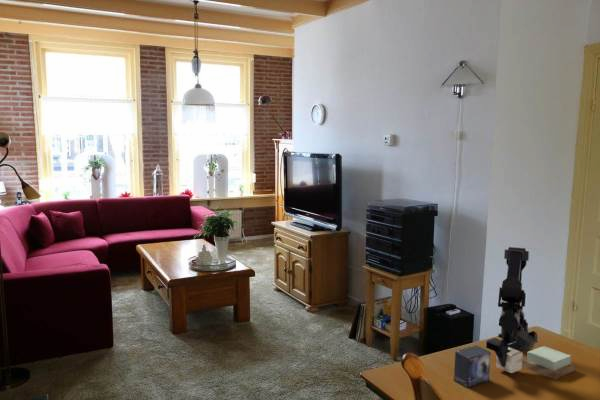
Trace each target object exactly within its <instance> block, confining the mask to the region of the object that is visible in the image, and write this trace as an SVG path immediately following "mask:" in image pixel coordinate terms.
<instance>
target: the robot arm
mask: <svg viewBox="0 0 600 400" xmlns="http://www.w3.org/2000/svg"><path fill="white" fill-rule="evenodd" d="M526 249H527V248H525V247H523V248H522V247H512V246H509V247H508V248H507V249H504V254H503V255H504V257H503V259H504V260H506V265H507V272H506V278H505V279H503V280H502V284H501V287H499V292H498V300H497V301H498V302H497V307H499V308H501V313H500V317H499V320H498V326H499V327H501V328H500V330H501V331H500V332H501V333H499V334H498V335H497V336H498V338H500V339H498V338H495V337H493V338H490V339H488V340H487V341H486V344H485V348H486V349H488V350H491V351H493V352H495V355H497V357H498V359H499V361H500V363H501V366H503V367H505V365H506V359H507V353H509V352H510V351H511V350H508V347H510V348H512V349H515V350H518V351H520V352H522V349H523V350H526V351H529V350H530V349H533V348H534V346H535V345H536V343H539V341H538V333H537V332H536V331H535V330H532V331H530V332H529V323H528V322H527V319H525V312H524V311H523V310H524V309H523V308H524V307H525V306H526V293H525V290H524V289H523V283H522V281H523V280H522V279H523V270H524V269H525V267H526V266H527V262H529V260H530V251H527V250H526Z"/></svg>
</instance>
